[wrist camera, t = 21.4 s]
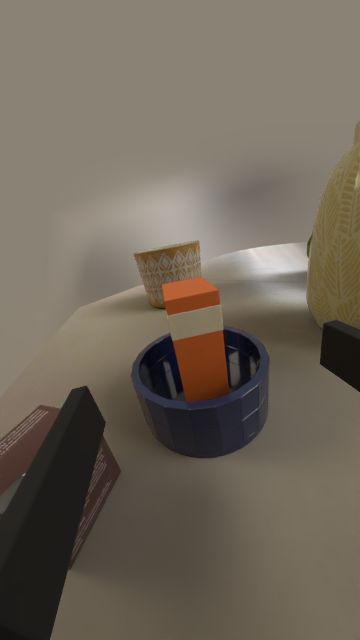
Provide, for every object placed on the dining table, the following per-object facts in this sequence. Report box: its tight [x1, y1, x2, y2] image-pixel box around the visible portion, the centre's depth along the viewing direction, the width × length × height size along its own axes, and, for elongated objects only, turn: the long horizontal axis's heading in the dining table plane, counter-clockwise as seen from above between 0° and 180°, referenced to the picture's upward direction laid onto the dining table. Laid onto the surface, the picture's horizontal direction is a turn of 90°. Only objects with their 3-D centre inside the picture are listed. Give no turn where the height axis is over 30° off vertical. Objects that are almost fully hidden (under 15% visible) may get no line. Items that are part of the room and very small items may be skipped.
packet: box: [162, 277, 229, 402], centre depth 21 cm, size 5×7×13 cm
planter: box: [134, 241, 201, 308], centre depth 59 cm, size 19×19×16 cm
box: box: [0, 405, 121, 570], centre depth 14 cm, size 6×6×7 cm
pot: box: [131, 326, 269, 458], centre depth 23 cm, size 15×15×6 cm
